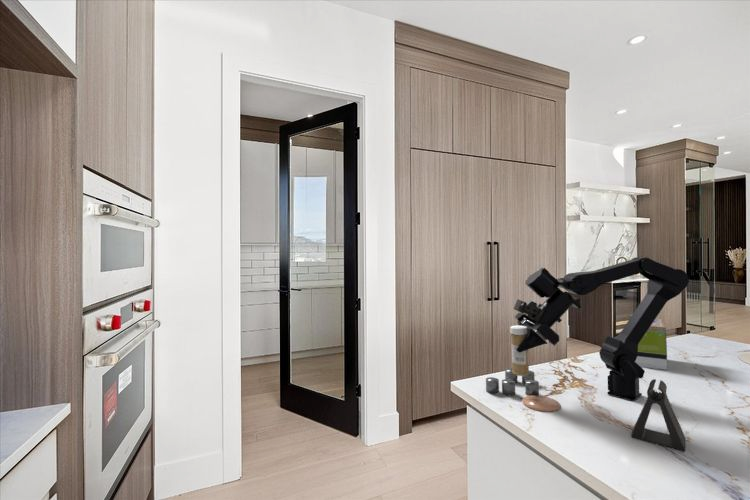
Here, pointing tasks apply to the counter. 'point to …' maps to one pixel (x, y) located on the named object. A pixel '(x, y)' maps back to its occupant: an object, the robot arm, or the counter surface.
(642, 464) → the counter surface
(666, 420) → the phone stand
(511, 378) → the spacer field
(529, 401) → the coaster
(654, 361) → the tea box
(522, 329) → the sprinkles bottle
